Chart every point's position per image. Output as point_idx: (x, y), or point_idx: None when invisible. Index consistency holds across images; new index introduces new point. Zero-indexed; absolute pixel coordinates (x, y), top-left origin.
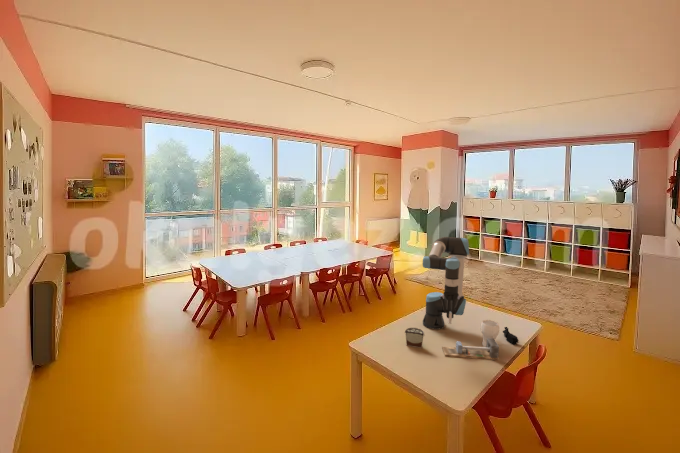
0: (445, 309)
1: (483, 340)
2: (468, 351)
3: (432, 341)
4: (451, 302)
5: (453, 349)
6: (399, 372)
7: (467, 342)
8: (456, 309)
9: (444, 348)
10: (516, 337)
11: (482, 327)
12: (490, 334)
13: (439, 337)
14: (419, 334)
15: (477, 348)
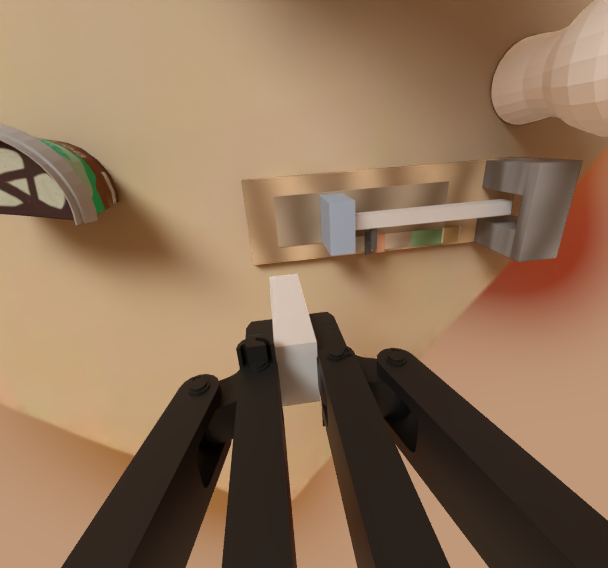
0: (212, 471)
1: (519, 80)
2: (380, 236)
3: (177, 92)
4: (368, 552)
5: (305, 201)
6: (65, 424)
7: (412, 60)
8: (414, 446)
9: (254, 199)
10: None
11: (596, 81)
12: (594, 134)
13: (226, 6)
14: (48, 215)
15: (436, 220)
